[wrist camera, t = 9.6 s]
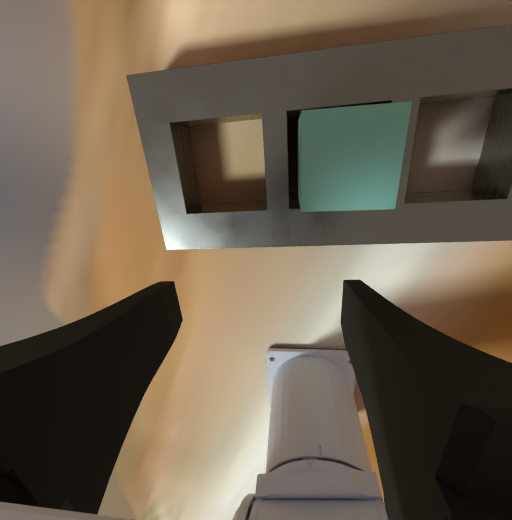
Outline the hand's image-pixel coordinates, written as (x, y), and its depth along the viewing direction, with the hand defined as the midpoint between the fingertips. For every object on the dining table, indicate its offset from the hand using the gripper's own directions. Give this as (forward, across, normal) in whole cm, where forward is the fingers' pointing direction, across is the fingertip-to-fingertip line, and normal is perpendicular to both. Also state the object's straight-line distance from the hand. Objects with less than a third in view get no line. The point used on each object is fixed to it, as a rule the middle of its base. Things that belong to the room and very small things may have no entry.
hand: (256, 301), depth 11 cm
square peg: (+9, -4, -5) cm, 11 cm away
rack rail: (+9, -4, -5) cm, 11 cm away
